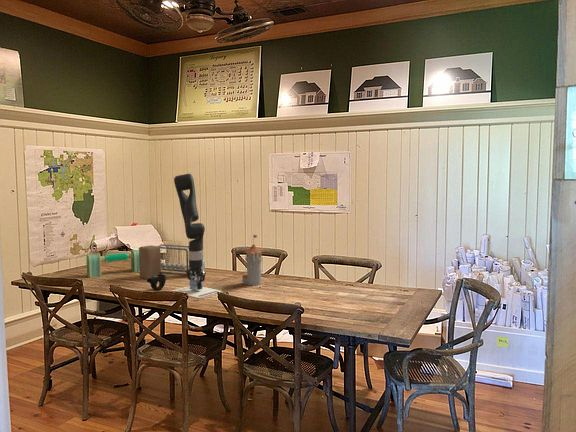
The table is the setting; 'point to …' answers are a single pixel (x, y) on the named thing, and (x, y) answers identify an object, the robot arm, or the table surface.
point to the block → (149, 261)
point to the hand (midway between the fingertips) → (196, 288)
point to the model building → (253, 266)
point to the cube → (194, 285)
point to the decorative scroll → (96, 259)
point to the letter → (198, 291)
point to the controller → (154, 280)
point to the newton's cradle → (173, 262)
